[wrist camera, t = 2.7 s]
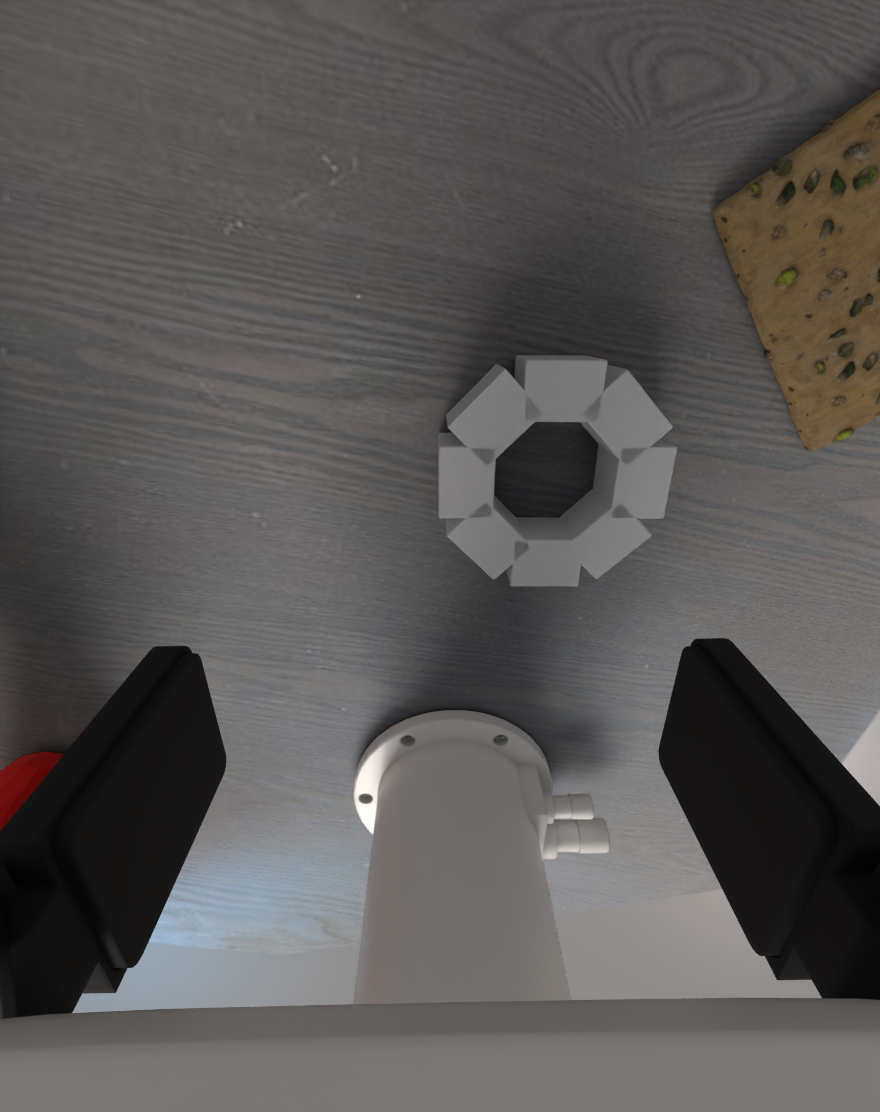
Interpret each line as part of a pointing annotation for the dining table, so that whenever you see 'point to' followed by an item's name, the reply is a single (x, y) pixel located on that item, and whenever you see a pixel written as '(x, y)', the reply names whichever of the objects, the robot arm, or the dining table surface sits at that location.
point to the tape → (598, 517)
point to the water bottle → (23, 781)
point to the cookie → (816, 272)
